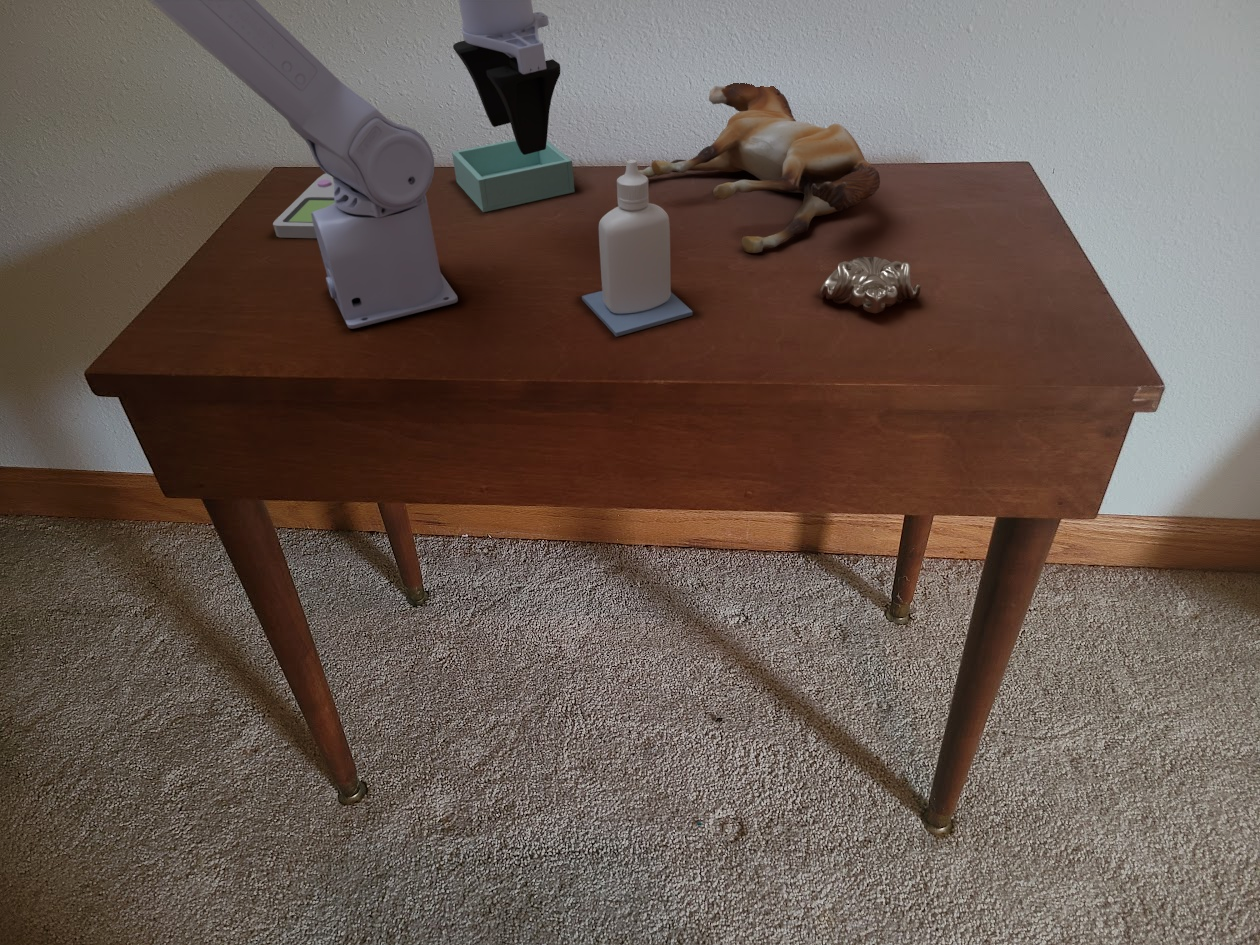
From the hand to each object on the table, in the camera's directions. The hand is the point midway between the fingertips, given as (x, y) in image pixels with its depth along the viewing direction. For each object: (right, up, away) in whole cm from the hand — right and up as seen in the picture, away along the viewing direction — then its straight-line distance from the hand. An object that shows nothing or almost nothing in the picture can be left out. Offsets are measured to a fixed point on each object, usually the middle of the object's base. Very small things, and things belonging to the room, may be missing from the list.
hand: (517, 136), depth 79 cm
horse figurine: (+15, -1, +6) cm, 16 cm away
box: (-3, +1, +18) cm, 18 cm away
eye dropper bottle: (+10, -15, -3) cm, 19 cm away
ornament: (+30, -16, -4) cm, 34 cm away
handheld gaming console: (-20, -2, +16) cm, 25 cm away
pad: (+10, -16, -3) cm, 19 cm away
